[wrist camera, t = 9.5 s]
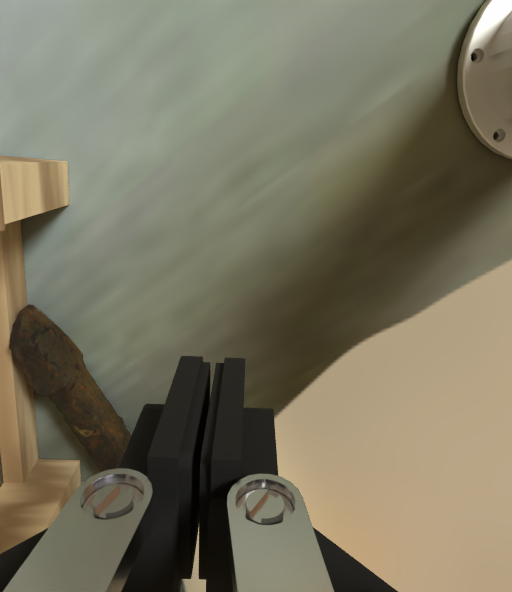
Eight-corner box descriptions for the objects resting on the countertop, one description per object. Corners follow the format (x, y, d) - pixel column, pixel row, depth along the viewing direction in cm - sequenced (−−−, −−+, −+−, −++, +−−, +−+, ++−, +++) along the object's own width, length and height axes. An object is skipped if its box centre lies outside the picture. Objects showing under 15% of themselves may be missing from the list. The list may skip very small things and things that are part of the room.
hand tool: (172, 474, 40) (164, 513, 35) (132, 489, 40) (119, 531, 36) (64, 289, 34) (40, 308, 30) (18, 308, 35) (-13, 330, 30)
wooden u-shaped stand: (70, 158, 31) (-10, 160, 21) (83, 490, 40) (31, 607, 29) (-10, 152, 31) (-131, 150, 20) (21, 488, 39) (-54, 606, 29)
